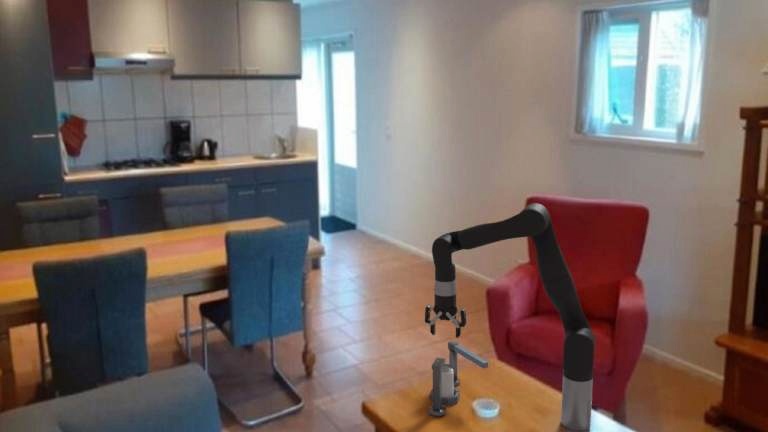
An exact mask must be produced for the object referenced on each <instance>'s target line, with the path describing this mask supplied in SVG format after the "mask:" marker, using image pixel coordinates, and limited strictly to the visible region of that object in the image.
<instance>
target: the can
mask: <svg viewBox="0 0 768 432" xmlns="http://www.w3.org/2000/svg"><path fill="white" fill-rule="evenodd" d="M441 380H442V397H444V398H449V397H452V396H454V387H455V386H454V371H453V369H452V366H451V365H449V363H445V364H444V366H443V367H442V369H441Z"/></svg>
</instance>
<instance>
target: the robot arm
mask: <svg viewBox="0 0 768 432" xmlns="http://www.w3.org/2000/svg"><path fill="white" fill-rule="evenodd" d="M529 237H530V238H531V240H532V243H533V245H534V248H535V252H536V253H535V254H536V261H537V268H538V269H537V270H538V274H539V277H540V281H541V283H542V287H543V288H544V290H545V291H544V292H545V293H546V295H547V297H548V299H549V300H550V302H551V303H552V305H553V306H554V308H555V309H556V310H557V313H558V314H559V317H560V319H561V322H562V325H563V330H564V334H565V337H564V341H563V352H562V353H563V354H562V355H563V356H562V371H563V372H562V390H561V391H562V392H561V393H562V394H561V413H560V414H561V415H560V418H561V419H560V423H561V425H562V426H563V427H564V428H566V429H568V430H571V431H575V432H576V431H577V432H583V431H590V430H591V422H592V420H591V419H592V406H593V405H592V404H593V403H592V401H593V384H594V383H593V381H594V379H593V378H594V360H595V344H596V336H595V333H594V331H593V329H592V327H591V325H590V323H589V321H588V319H587V317H586V315H585V313H584V311H583V309H582V305H581V303H580V299H579V296H578V292H577V288H576V286H575V282H574V280H573V276H572V274H571V271H570V269H569V267H568V265H567V262H566V260H565V258H564V254H563V253H562V250H561V247H560V245H559V244H558V241H557V237H556V235H555V231H554V226H553V223H552V217H551V215H550V212H549V211H548V208H546V207H545V206H544V205H543V204H542V203H541V204H540V203H536V202H535V203H530V204H528V205H526V206H525V207H524V208H523V209H522V210H520V211H519V213H517V214H515V215H513V216H511V217H509V218H506V219H503V220H501V221H500V220H499V221H495V222H490V223H489V222H487V223H481V224H477V225H474V226H469V227H467V228H464V229H462V230H455V231H450V232H447V233H444V234H442V235H440V236H438V237H437V238H436V239H434V241H433V242H432V246H431V253H432V254H431V255H432V259H433V263H434V286H433V287H434V289H433V291H434V296H433V297H434V305H433V306H431V305H430V304H426V306H425V311H424V322H425V323H426V324H429V329H430V331H429V333H430V334H431V336H435V335H436V321H438V319H439V320H440V321H450V322H451V323H452V324H453V325H454V326H455V338H457V339H458V338H460V336H461V334H462V328H464V327H465V326H466V325H467V314H466V308H464V307H463V308H457V282H456V280H457V279H456V276H457V275H456V271H457V270H456V264H455V263H454V262H453V259H452V258H453V257H452V255H453V253H456V252H458V251H462V250H463V251H464V250H468V251H469V250H472V249H477V248H481V247H483V246H487V245H491V244H494V243H497V242H501V241H506V240H512V239H518V238H519V239H520V238H529ZM432 312H434V314H435V315H434V316H433V318H432V319H431V313H432ZM457 314H458V315H459V316H460V320H459V317H458V316H457Z"/></svg>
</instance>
